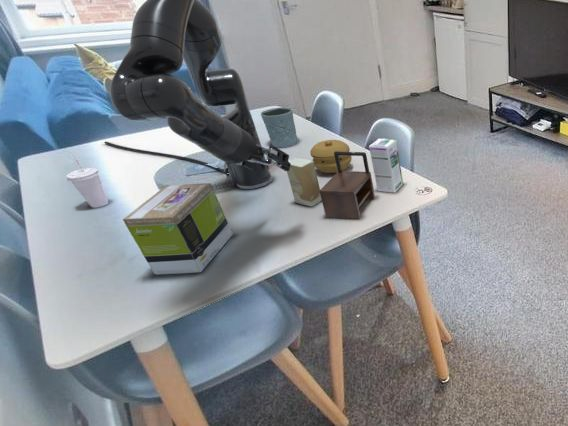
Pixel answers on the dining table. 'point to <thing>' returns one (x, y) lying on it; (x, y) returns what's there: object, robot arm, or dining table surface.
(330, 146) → the pot
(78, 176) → the smoothie
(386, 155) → the syrup box
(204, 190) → the tea box
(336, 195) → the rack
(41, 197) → the dining table surface
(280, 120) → the blue-grey planter
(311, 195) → the cosmetic box
